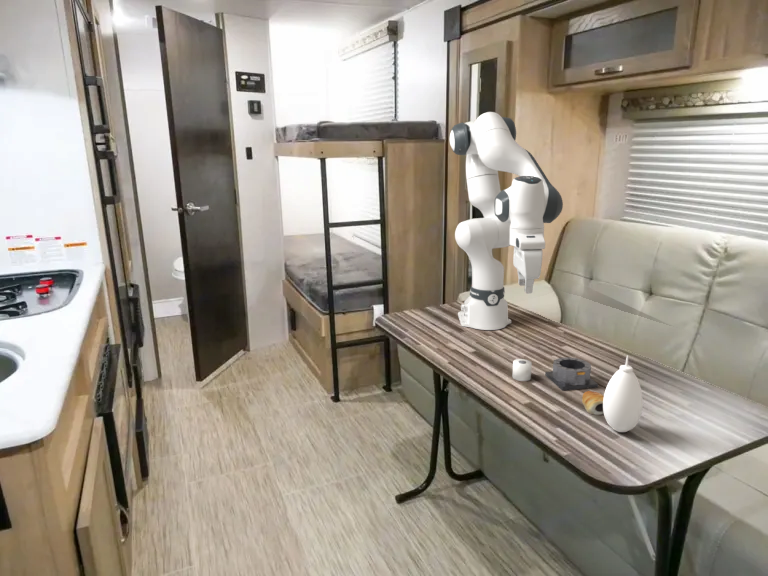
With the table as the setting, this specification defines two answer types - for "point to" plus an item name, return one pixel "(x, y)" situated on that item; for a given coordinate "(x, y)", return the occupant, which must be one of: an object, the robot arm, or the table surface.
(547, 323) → the table surface
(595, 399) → the pastry
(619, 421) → the white air blower bulb
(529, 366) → the cylinder with grey knob
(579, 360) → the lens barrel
